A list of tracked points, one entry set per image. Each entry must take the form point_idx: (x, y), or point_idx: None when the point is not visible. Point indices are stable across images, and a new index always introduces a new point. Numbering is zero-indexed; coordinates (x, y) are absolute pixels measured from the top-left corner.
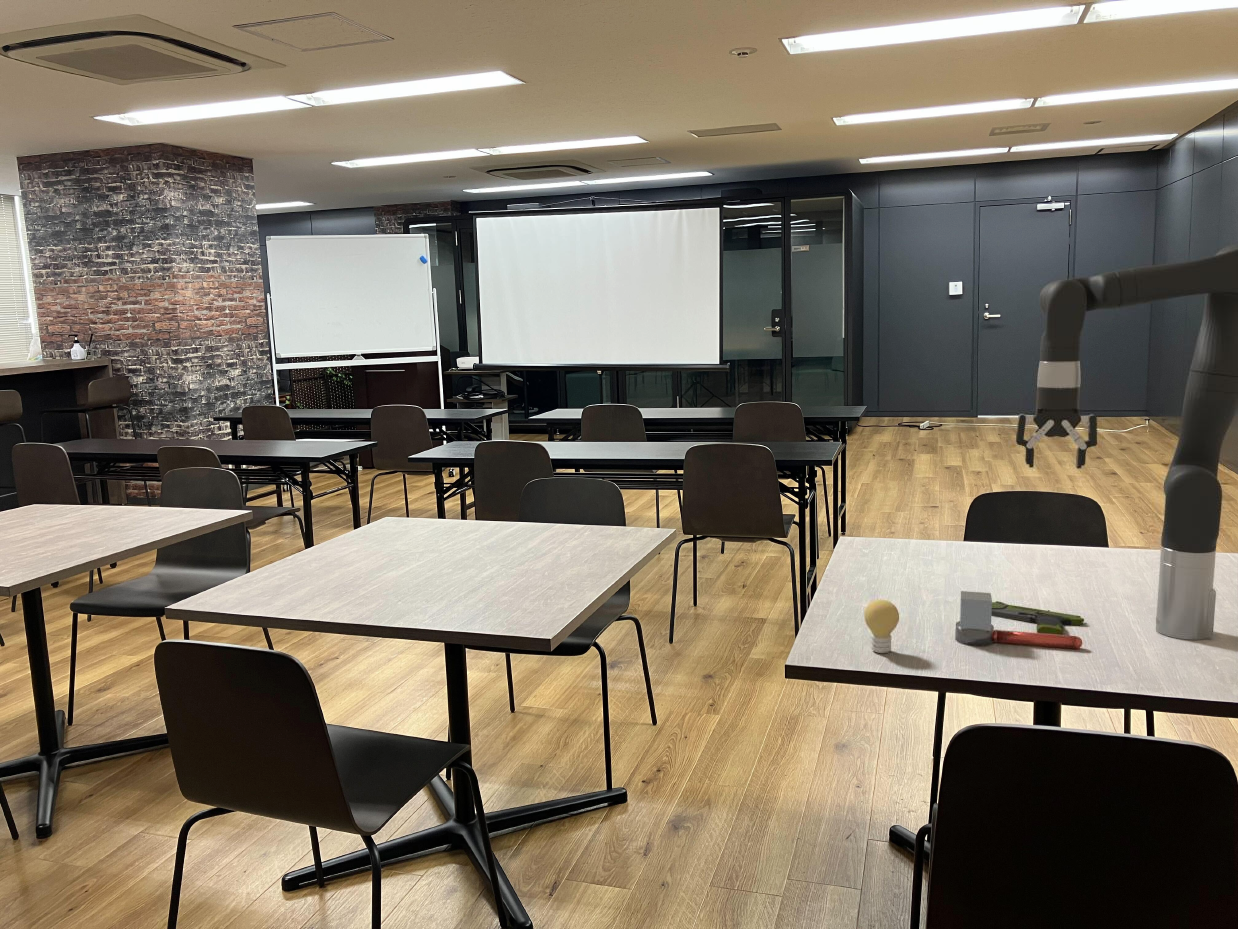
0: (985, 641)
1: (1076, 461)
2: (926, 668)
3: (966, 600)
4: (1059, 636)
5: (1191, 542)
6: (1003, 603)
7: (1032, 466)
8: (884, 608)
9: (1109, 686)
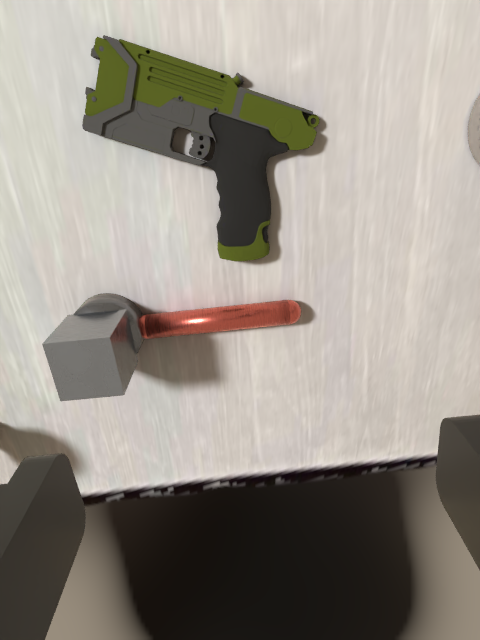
0: None
1: (469, 462)
2: (73, 470)
3: (72, 398)
4: (260, 324)
5: None
6: (125, 57)
7: (77, 529)
8: None
9: (322, 451)
